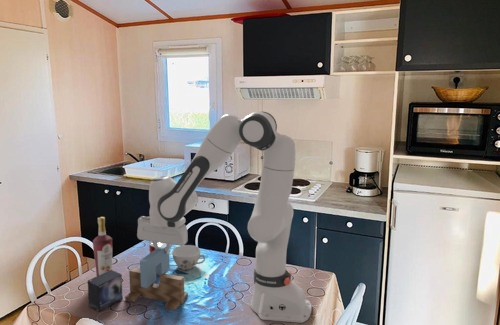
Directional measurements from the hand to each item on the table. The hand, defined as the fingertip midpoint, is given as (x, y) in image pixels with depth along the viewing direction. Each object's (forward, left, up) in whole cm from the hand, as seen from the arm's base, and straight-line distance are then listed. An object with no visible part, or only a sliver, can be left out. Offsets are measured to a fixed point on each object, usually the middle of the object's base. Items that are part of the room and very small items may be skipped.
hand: (162, 252), depth 143 cm
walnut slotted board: (0, +5, -16) cm, 17 cm away
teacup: (0, -22, -17) cm, 28 cm away
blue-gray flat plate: (0, +5, -8) cm, 9 cm away
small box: (+16, +14, -17) cm, 27 cm away
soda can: (+12, -16, -17) cm, 26 cm away
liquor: (+26, +2, -17) cm, 31 cm away
